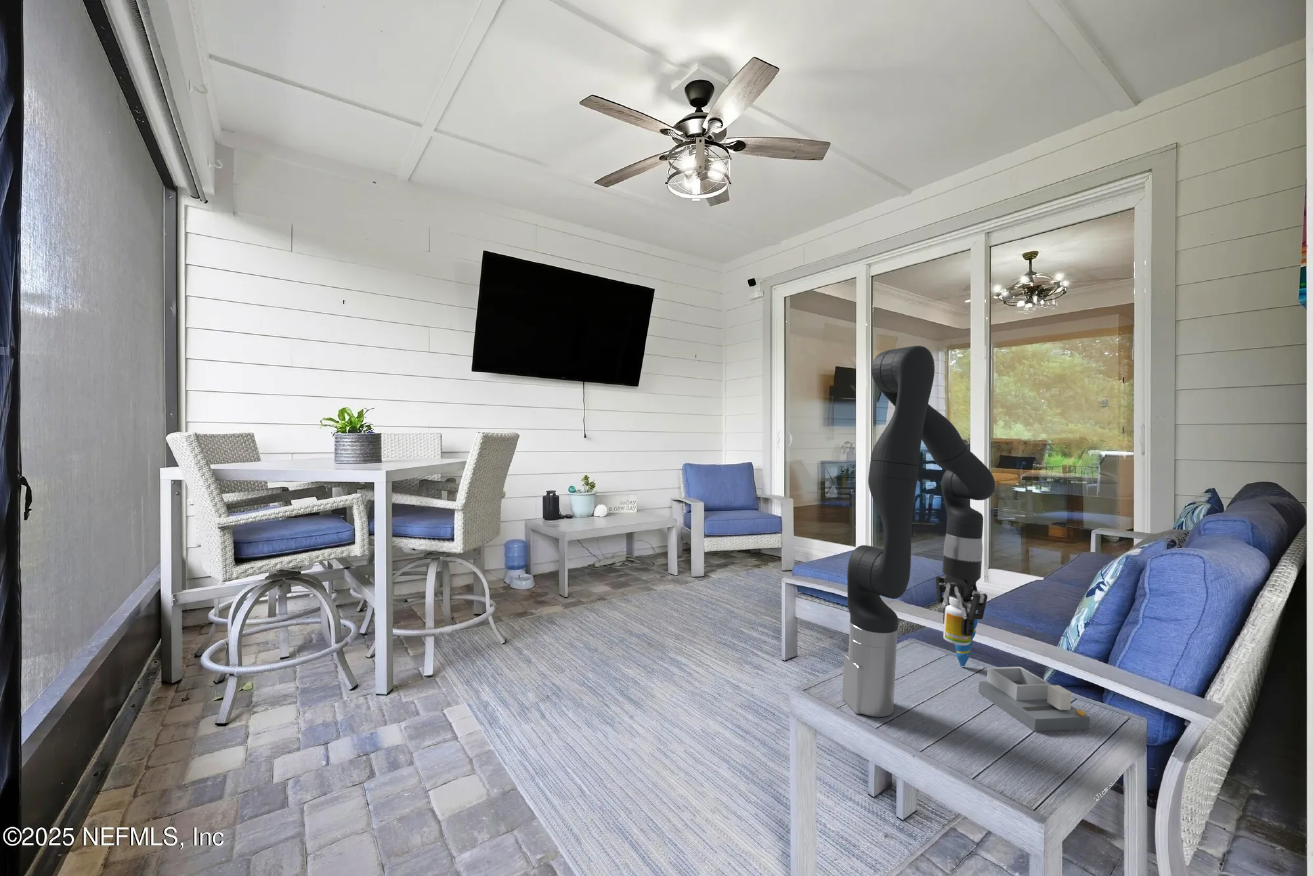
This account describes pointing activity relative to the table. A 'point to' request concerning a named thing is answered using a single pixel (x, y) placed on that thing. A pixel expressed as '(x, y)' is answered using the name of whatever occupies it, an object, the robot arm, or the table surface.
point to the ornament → (965, 649)
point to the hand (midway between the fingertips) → (957, 629)
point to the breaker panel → (1029, 700)
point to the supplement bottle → (954, 623)
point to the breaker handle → (1059, 697)
